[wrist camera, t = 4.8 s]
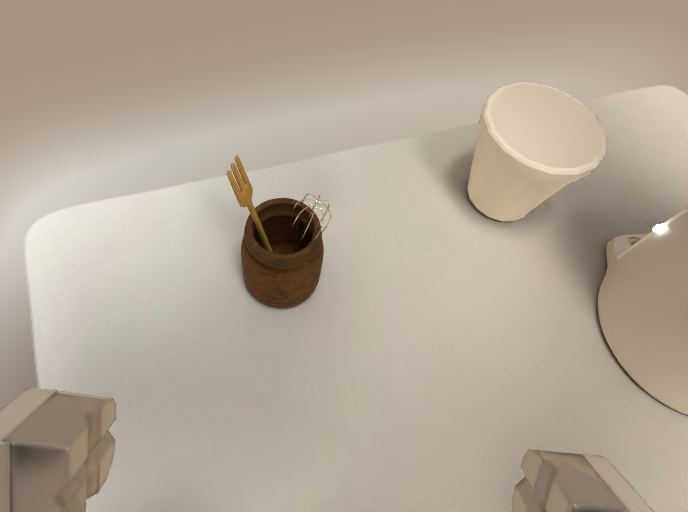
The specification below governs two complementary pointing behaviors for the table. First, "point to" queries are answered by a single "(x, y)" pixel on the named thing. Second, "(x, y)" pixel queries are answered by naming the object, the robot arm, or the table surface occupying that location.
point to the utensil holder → (279, 245)
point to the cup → (531, 149)
